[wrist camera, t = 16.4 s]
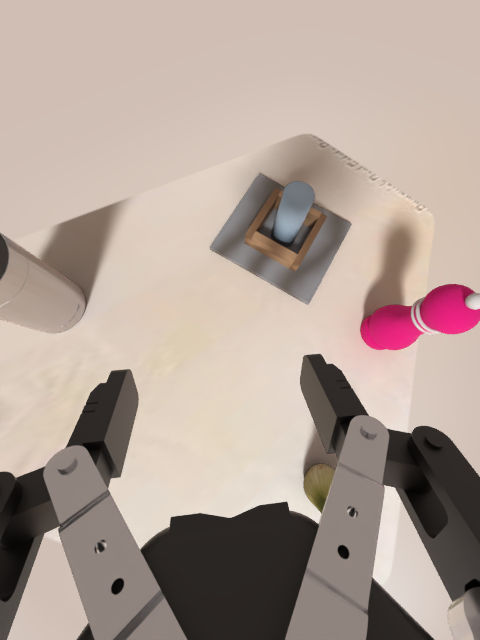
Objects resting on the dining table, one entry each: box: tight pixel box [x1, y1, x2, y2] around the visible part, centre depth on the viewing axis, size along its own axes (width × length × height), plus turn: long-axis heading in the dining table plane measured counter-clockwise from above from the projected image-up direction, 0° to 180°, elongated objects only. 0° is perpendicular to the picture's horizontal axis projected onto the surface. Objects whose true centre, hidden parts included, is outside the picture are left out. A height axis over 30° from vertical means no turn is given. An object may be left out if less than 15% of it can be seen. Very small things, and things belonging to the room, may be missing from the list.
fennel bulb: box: [304, 464, 335, 513], centre depth 37 cm, size 6×5×12 cm
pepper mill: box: [361, 284, 480, 350], centre depth 39 cm, size 7×7×20 cm
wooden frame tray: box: [210, 174, 352, 305], centre depth 49 cm, size 20×18×4 cm
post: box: [271, 181, 315, 247], centre depth 45 cm, size 4×4×11 cm
